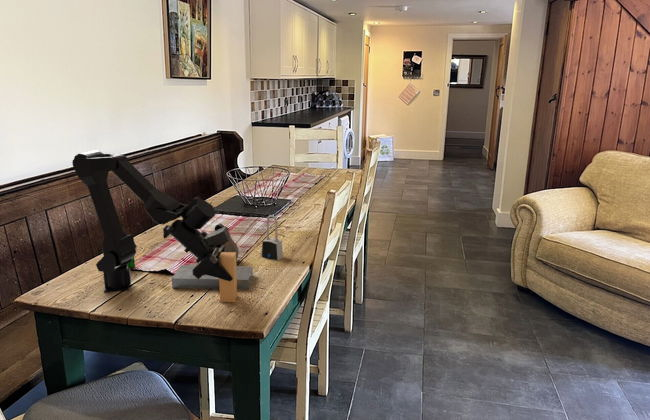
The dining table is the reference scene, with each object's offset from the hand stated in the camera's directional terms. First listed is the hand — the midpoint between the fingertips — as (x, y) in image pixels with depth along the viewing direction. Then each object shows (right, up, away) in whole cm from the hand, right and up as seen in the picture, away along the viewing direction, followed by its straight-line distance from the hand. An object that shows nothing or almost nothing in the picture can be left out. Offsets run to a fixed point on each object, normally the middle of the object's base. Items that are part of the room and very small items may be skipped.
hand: (233, 276), depth 132 cm
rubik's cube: (-39, 0, +21) cm, 45 cm away
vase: (-7, +1, +27) cm, 28 cm away
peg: (-2, -6, +2) cm, 7 cm away
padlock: (+7, +2, +32) cm, 33 cm away
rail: (-8, -3, +12) cm, 15 cm away
